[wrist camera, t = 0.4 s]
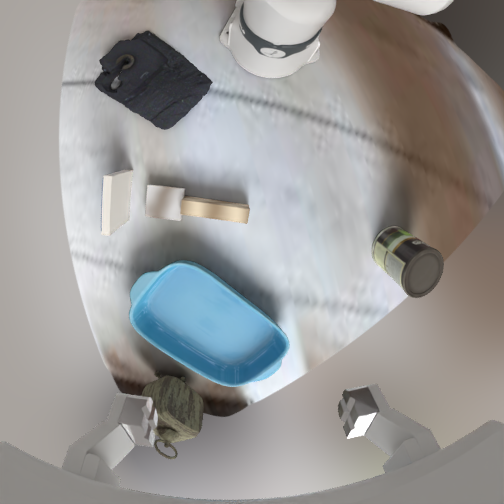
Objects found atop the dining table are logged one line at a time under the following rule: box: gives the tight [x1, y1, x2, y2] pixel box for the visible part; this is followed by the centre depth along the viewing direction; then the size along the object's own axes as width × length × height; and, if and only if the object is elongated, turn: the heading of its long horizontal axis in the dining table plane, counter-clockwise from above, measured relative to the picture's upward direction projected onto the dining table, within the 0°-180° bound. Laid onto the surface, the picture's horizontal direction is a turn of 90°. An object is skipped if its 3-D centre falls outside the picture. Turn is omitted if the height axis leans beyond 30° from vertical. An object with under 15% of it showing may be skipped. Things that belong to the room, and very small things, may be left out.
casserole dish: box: [129, 260, 289, 387], centre depth 57 cm, size 37×22×7 cm, turn 47°
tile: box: [101, 170, 133, 236], centre depth 44 cm, size 2×10×10 cm, turn 169°
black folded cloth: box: [95, 31, 212, 130], centre depth 39 cm, size 15×22×5 cm
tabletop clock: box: [142, 371, 203, 459], centre depth 55 cm, size 14×9×25 cm, turn 33°
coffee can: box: [372, 226, 444, 298], centre depth 50 cm, size 10×10×14 cm
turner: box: [145, 184, 250, 224], centre depth 49 cm, size 19×6×4 cm, turn 80°
